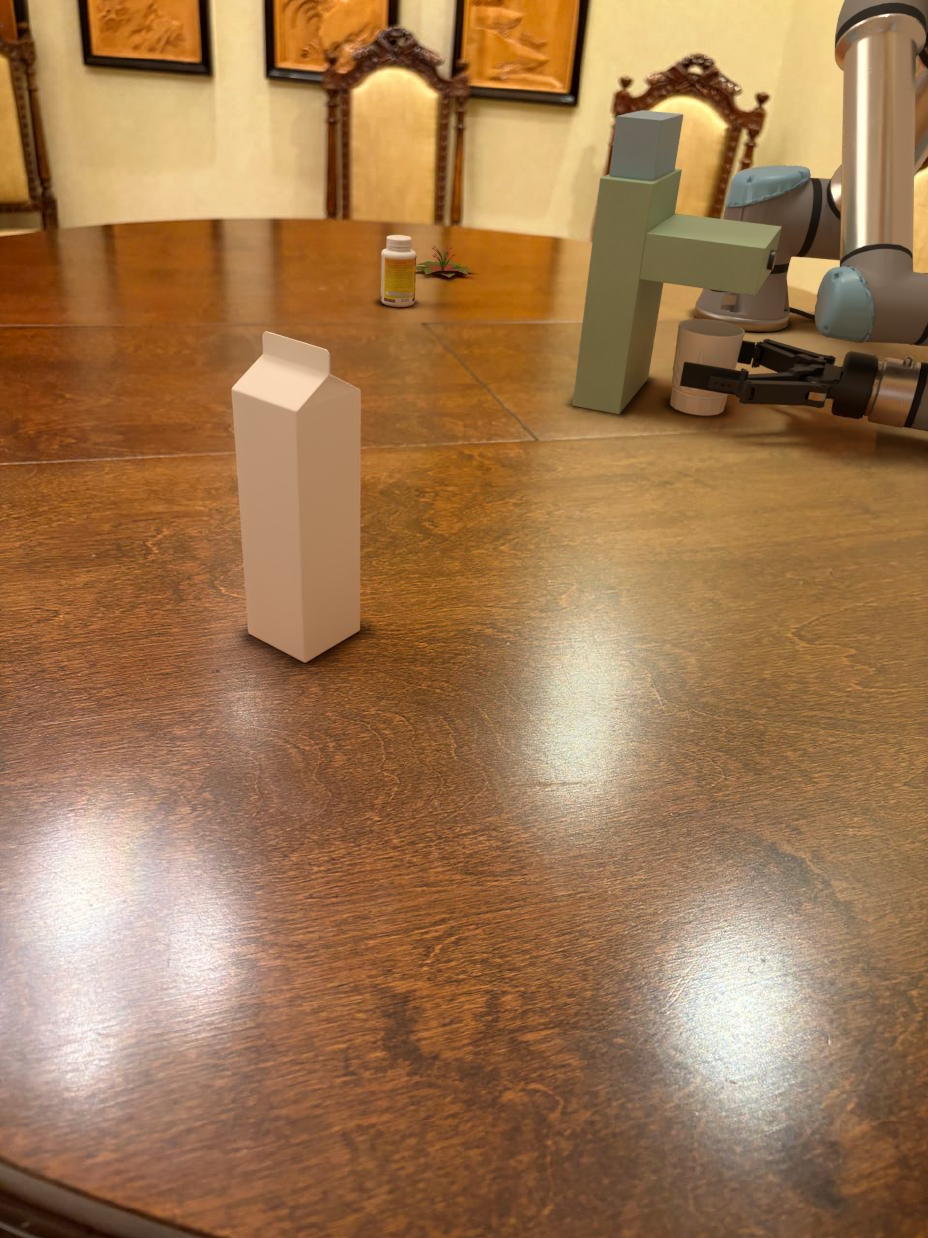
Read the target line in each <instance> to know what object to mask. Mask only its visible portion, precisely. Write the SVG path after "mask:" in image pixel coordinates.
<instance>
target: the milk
mask: <svg viewBox="0 0 928 1238" xmlns="http://www.w3.org/2000/svg"><path fill="white" fill-rule="evenodd" d="M231 402H232V417H233V418H232V419H233V433H234V447H235V448H234V449H235V460H236V461H235V463H236V475H237V476H236V478H237V490H238V504H239V516H240V517H239V518H240V519H239V520H240V534H241V549H242V561H243V577H244V579H243V580H244V591H245V592H244V593H245V607H246V620H247V621H246V622H247V632H248V634H249V635H251V636H252V637H255V638H256V639H258V640H260V641H262V642H264V643H266V644H268V645H270V646H272V647H273V648H276V649H277V650H279V651H281V652H283V653H285V654H287V655H289V656H290V657H292V658H295V659H296V660H299V661H301V662H302V663H307V662H309V661H311V660H313V659H315V658H317V656H319V655H321V654H323V653H324V652H326V651H328V650H330V649H331V648H333V647H334V646H337V645H338V644H340V643H342V641H345V640H346V639H348V638H350V637H352V636H353V635H355V634H356V633H358V632H360V630H361V493H362V492H361V488H362V487H361V486H362V485H361V484H362V483H361V481H362V480H361V479H362V478H361V474H362V473H361V471H362V470H361V469H362V467H361V464H362V462H361V460H362V459H361V458H362V455H361V454H362V453H361V451H362V447H361V446H362V443H361V441H362V419H361V418H362V390H361V389H360V388H358V387H357V386H354V385H352V384H351V383H348V382H347V381H345V380H344V379H341V378H339V377H337V376H335V375H333V374H331V354H330V351H329V350H328V349H327V348H323V347H320V346H317V345H314V344H310V343H307V342H303V341H301V340H297V339H293V338H290V337H287V336H284V335H280V334H277V333H274V332H270V331H263V333H262V354H261V355H260V356H259V357H258V359H256V361H255V362H254V363H253V364H252V365H251V366H250V367H249V368H248V370H246V371H245V373H244V374H243V375H242V376H241V377H240V378H239V379H238V381H237V382H235V384H234V385H233V386H232V387H231Z"/></svg>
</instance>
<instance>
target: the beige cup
mask: <svg viewBox="0 0 928 1238" xmlns="http://www.w3.org/2000/svg"><path fill="white" fill-rule="evenodd" d="M745 332H746V331H744V329H742V328H741V327H739V326H737V325H734V324H731V323H728V322H723V321H718V320H710V319H698V318H689V319H684V320H682V321H680V322H679V323H678V327H677V335H676V342H675V349H674V359H673V367H672V377H671V384H672V386H671V394H670V401H669V403H670V404H669V406H671V407H672V408H673V409H675V410H676V411H679V412H680V413H681V412H682V413H684V414H689V415H693V416H701V417H704V416H706V417H709V416H716V415H719V414H721V413H723V412H724V410H725V407H726V403H727V398H728V395H729V394H724V393H718V392H713V391H707V390H701V389H695V388H689V387H684V386H680V382H681V376H682V371H683V365H684V362H690V363H696V364H702V365H708V366H714V367H720V368H726V369H732V370H737V365H738V363H737V361H738V357H739V353H740V349H741V345H742V341H743V340H744V336H745Z"/></svg>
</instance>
